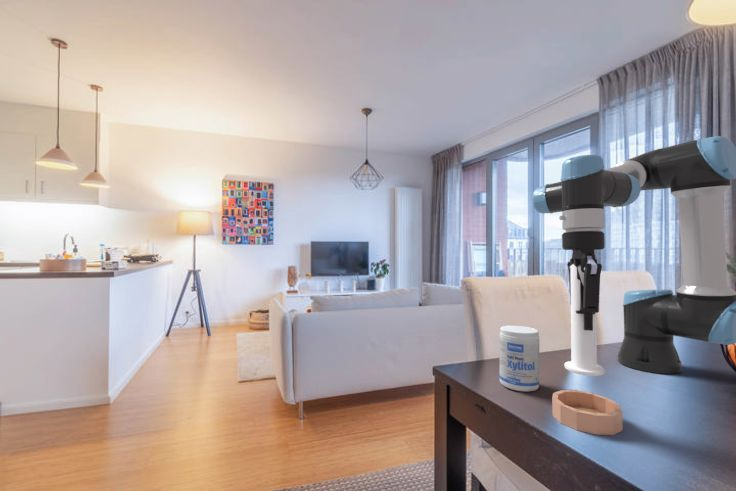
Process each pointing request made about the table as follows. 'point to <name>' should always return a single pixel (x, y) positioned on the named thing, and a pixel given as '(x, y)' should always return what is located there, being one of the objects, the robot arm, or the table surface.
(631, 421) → the table surface
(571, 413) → the jar dish
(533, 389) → the supplement tub
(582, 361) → the candle
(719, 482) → the table surface
